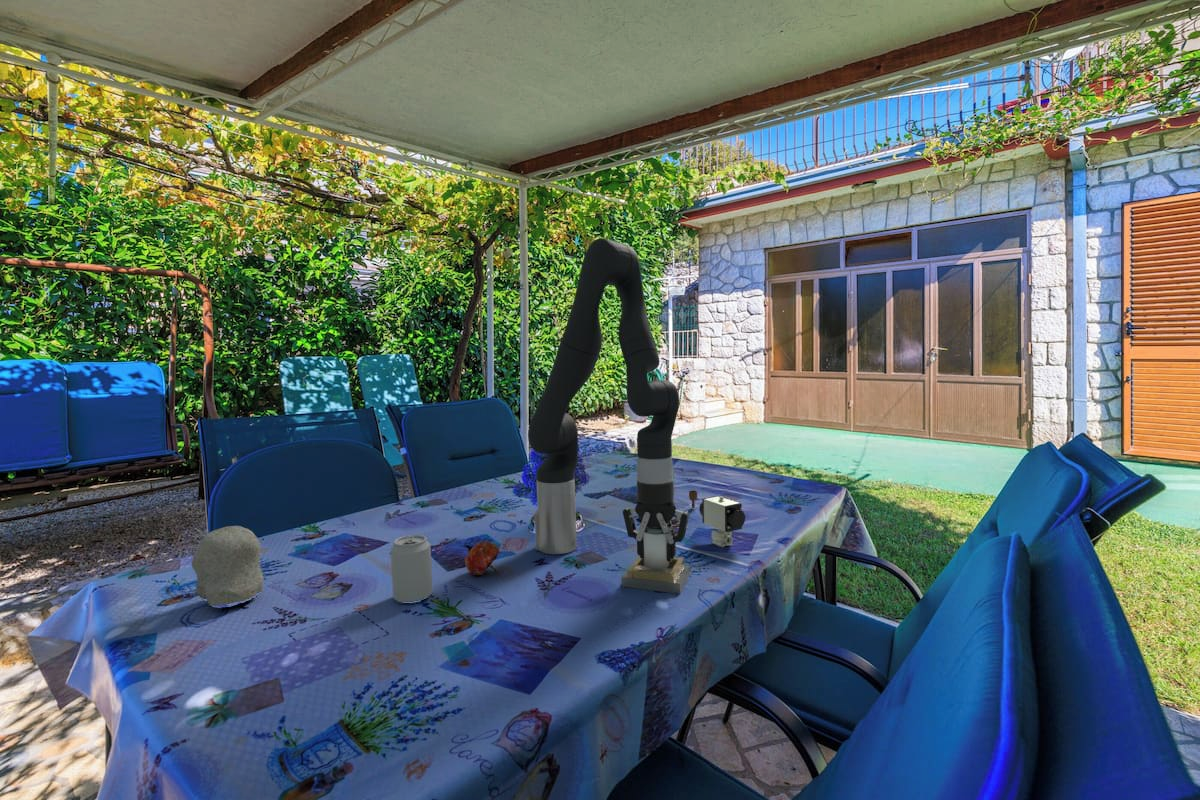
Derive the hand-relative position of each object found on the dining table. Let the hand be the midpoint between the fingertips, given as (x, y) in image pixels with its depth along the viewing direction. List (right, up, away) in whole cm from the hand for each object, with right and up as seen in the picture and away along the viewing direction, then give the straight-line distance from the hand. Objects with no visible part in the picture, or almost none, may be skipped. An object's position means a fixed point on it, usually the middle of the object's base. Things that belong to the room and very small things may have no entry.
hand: (656, 558), depth 117 cm
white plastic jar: (0, -1, 0) cm, 1 cm away
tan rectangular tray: (0, -5, 0) cm, 5 cm away
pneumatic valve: (+18, -3, +21) cm, 28 cm away
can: (-49, -7, -5) cm, 50 cm away
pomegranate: (-37, -5, +7) cm, 38 cm away
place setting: (+9, -2, +45) cm, 46 cm away
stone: (-85, -8, -5) cm, 86 cm away
